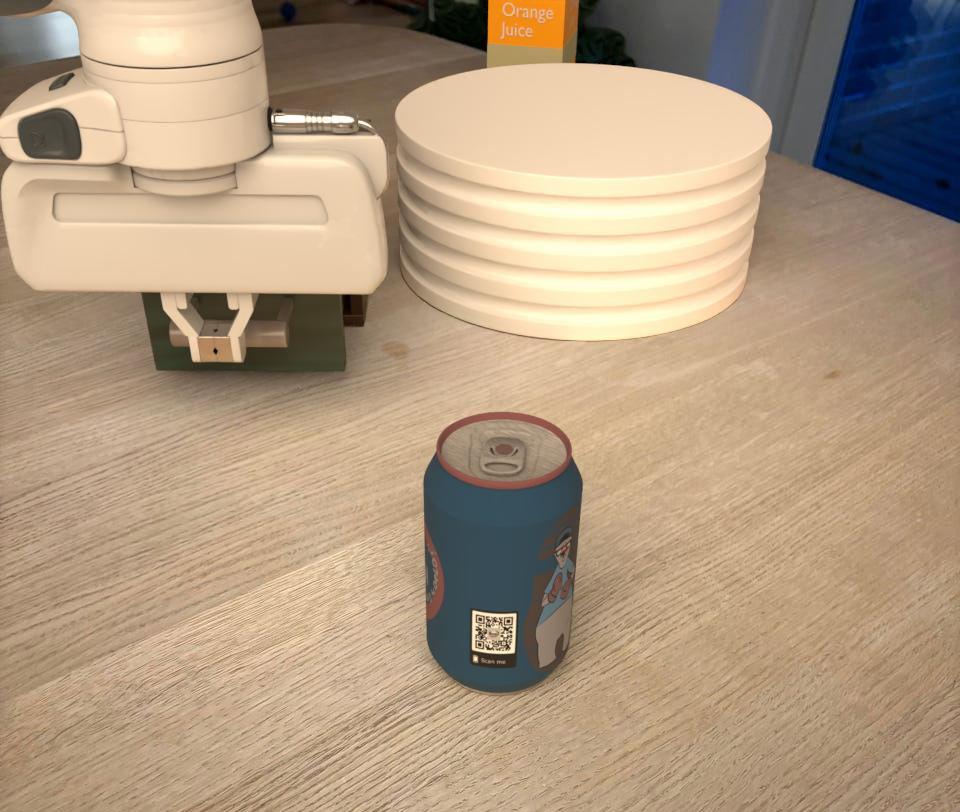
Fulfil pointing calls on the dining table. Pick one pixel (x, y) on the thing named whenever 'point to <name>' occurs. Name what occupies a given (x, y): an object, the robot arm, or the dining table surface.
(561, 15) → the orange juice
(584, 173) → the plate stack
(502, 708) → the dining table surface
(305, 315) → the drawer
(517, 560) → the soda can
